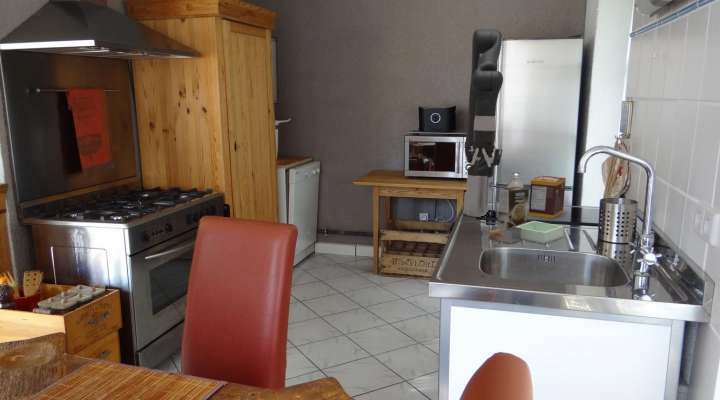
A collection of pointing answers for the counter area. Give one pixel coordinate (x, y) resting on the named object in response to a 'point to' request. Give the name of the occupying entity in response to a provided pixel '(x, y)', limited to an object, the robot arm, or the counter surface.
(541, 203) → the supplement box
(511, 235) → the block
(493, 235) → the brown square block
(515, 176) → the plastic bottle
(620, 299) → the counter surface
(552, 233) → the green tray
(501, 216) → the coffee box
